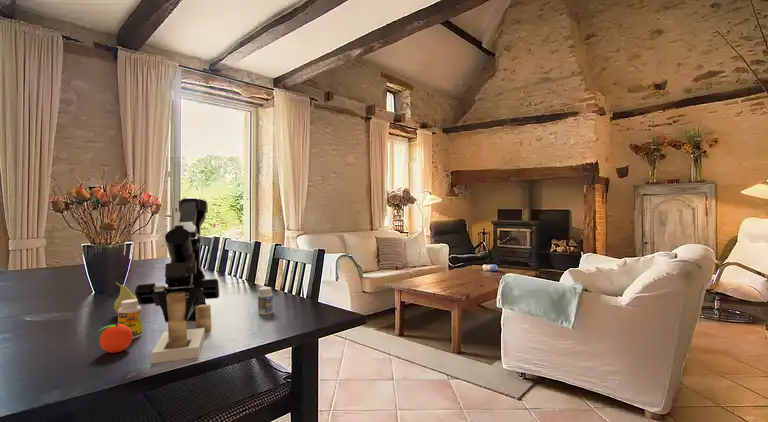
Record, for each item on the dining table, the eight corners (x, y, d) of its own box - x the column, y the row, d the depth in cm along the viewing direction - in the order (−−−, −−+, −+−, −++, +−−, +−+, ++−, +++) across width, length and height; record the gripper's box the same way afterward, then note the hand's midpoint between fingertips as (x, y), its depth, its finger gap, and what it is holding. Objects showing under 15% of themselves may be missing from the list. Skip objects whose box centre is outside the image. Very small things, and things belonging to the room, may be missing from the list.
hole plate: (164, 341, 108) (164, 331, 108) (204, 336, 111) (204, 327, 111) (151, 363, 93) (151, 352, 93) (198, 357, 96) (198, 347, 96)
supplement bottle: (115, 341, 108) (113, 303, 108) (123, 334, 114) (122, 299, 114) (137, 339, 110) (136, 302, 109) (145, 333, 115) (144, 297, 115)
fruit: (143, 312, 137) (142, 277, 137) (126, 318, 130) (125, 282, 130) (124, 312, 138) (123, 277, 138) (107, 318, 130) (106, 281, 130)
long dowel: (166, 346, 98) (164, 293, 98) (182, 341, 101) (181, 290, 101) (172, 350, 96) (171, 296, 95) (189, 345, 99) (188, 293, 98)
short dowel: (193, 331, 116) (192, 307, 116) (202, 327, 120) (202, 304, 119) (204, 332, 115) (204, 308, 114) (214, 328, 118) (213, 304, 118)
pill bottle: (268, 315, 131) (268, 289, 131) (255, 314, 132) (255, 289, 132) (275, 311, 136) (274, 286, 136) (262, 310, 137) (262, 286, 137)
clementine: (91, 359, 96) (90, 330, 96) (98, 350, 102) (97, 322, 102) (130, 354, 99) (129, 325, 99) (135, 345, 105) (134, 318, 105)
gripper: (135, 251, 98) (124, 307, 88) (217, 247, 104) (215, 299, 94) (144, 277, 106) (134, 331, 96) (220, 272, 112) (218, 322, 102)
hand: (176, 321), depth 97 cm, fingers closed on long dowel, 4 cm apart
